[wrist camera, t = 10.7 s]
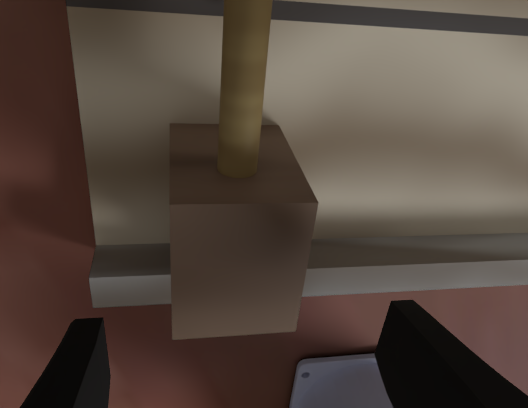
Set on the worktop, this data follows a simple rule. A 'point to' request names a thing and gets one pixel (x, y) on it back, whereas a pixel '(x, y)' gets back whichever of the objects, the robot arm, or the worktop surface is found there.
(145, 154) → the board
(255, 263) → the brown handled block
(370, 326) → the worktop surface
